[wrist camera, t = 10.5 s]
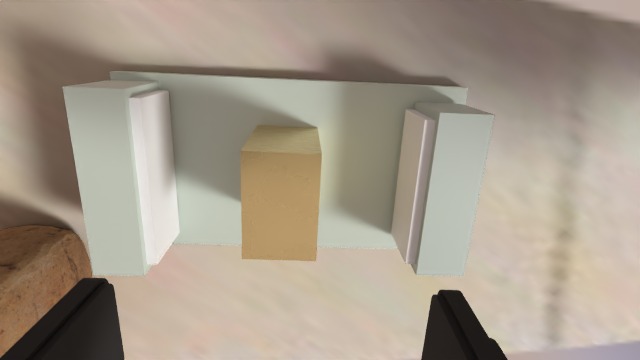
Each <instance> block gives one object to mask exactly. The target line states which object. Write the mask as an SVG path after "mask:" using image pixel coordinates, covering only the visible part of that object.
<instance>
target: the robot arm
mask: <svg viewBox="0 0 640 360" xmlns="http://www.w3.org/2000/svg"><path fill="white" fill-rule="evenodd" d="M0 360H124V352H123V345H122V338H121V332H120V325H119V318H118V312H117V305H116V298H115V292H114V287H113V285H112V284H109V283H108V281H107V279H105V278H83V279H81V280H80V281H79V282H78V283H77V284H76V285H75V286H74V287H73V288H72V289H71V290H70V291H69V292H68V293H67V294H65V295H64V296H63V297H62V298H61V299H60V300H59V301H58V302H57V303H56V304H55V305H54V306H53V307H52V308H51V309H50V310H49V311H48V312H47V313H46V314H45V315H44V316H43V317H42V318H41V319H40V320H39V321H38V322H37V323H36V324H35V325H34V326H32V327H31V328H30V329H29V330H28V331H27V332H26V333H25V334H24V335H23V336H22V337H21V338H20V339H19V340H18V341H17V342H16V343H15V344H14V345H13V346H12V347H11V348H10V349H9V350H8V351H7V352H6V353H5V354H4V355H3V356H2V357H0ZM421 360H507V358H506V357H505V355H504V353H503V351H502V350H501V348H500V347H499V345H498V344H497V342H496V341H495V340H494V339H492V338H489V337H488V335H487V334H486V332H485V330H484V329H483V327H482V326H481V324H480V322H479V321H478V319H477V317H476V316H475V314H474V312H473V311H472V309H471V307H470V306H469V304H468V302H467V301H466V299H465V297H464V296H463V294H462V293H461V291H459V290H440V291H439V292H438V295H433V296H432V299H431V305H430V311H429V317H428V323H427V329H426V335H425V341H424V347H423V353H422V359H421Z"/></svg>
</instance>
